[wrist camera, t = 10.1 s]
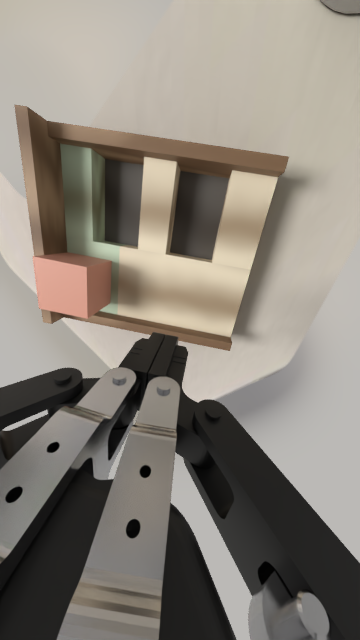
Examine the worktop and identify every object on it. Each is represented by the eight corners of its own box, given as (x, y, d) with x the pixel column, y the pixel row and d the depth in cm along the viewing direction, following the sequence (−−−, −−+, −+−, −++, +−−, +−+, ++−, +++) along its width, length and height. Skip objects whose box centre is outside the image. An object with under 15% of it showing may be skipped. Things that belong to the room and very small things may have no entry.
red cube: (68, 252, 22) (32, 256, 18) (111, 260, 22) (86, 267, 17) (70, 294, 24) (39, 308, 20) (110, 303, 24) (87, 318, 19)
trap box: (69, 142, 21) (14, 104, 15) (271, 173, 20) (299, 146, 14) (78, 303, 28) (43, 321, 22) (226, 333, 27) (231, 360, 21)
